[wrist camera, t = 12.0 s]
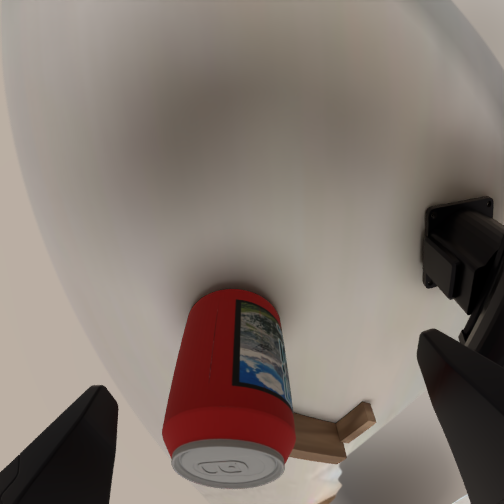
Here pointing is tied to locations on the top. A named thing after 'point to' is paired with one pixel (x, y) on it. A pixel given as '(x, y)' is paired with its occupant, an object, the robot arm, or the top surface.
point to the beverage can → (230, 394)
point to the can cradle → (329, 435)
